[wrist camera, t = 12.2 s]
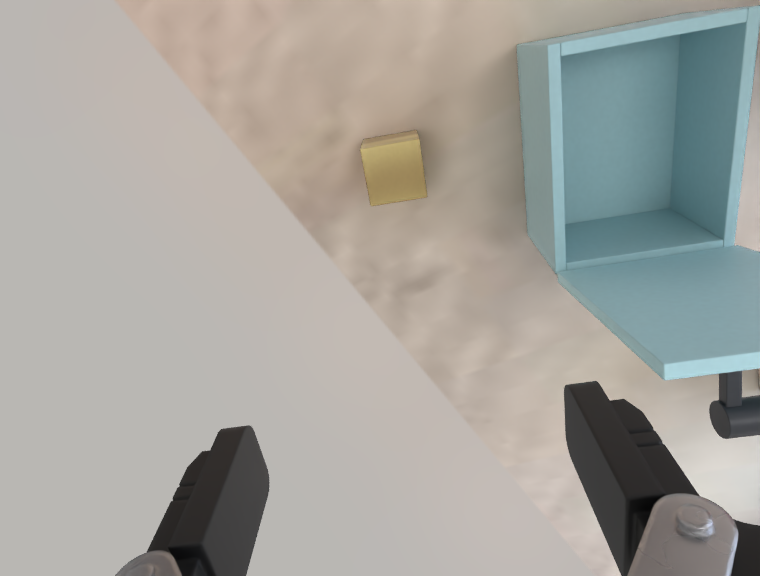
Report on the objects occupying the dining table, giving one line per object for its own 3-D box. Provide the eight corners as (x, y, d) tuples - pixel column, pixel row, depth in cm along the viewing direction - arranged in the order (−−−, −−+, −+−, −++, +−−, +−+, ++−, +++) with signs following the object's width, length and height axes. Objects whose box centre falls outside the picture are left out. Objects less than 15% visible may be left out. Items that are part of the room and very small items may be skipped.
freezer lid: (663, 364, 22) (666, 472, 24) (985, 322, 21) (968, 439, 23) (556, 271, 38) (562, 340, 40) (738, 245, 37) (737, 316, 38)
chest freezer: (516, 44, 40) (547, 45, 32) (686, 12, 39) (762, 4, 31) (527, 235, 47) (555, 274, 39) (674, 212, 45) (734, 248, 37)
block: (362, 139, 43) (360, 149, 39) (416, 129, 43) (419, 138, 39) (372, 192, 45) (370, 206, 41) (424, 183, 45) (427, 197, 41)
